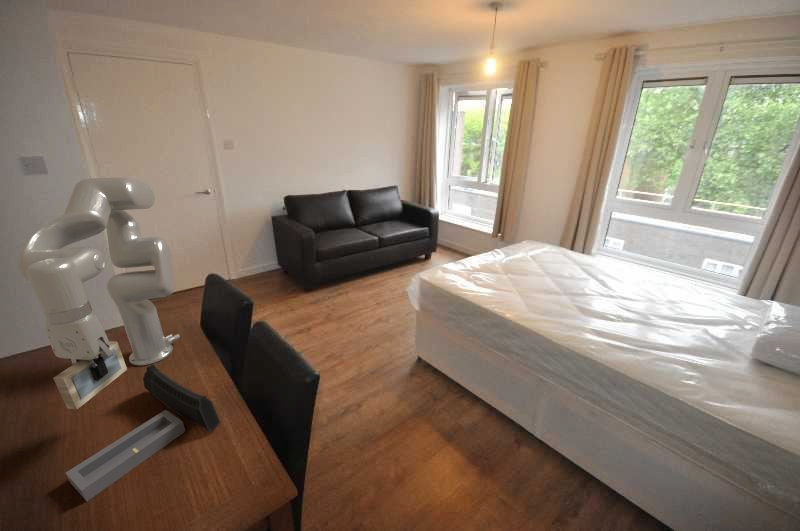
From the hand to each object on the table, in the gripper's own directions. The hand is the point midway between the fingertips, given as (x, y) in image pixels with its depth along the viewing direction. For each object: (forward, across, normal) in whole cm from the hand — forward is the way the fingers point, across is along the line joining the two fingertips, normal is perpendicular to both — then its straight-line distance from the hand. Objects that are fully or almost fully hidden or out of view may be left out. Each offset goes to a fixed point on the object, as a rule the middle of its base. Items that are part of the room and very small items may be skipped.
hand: (95, 375), depth 82 cm
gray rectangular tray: (+18, +10, -7) cm, 22 cm away
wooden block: (+4, 0, 0) cm, 4 cm away
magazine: (+18, +12, +8) cm, 24 cm away
